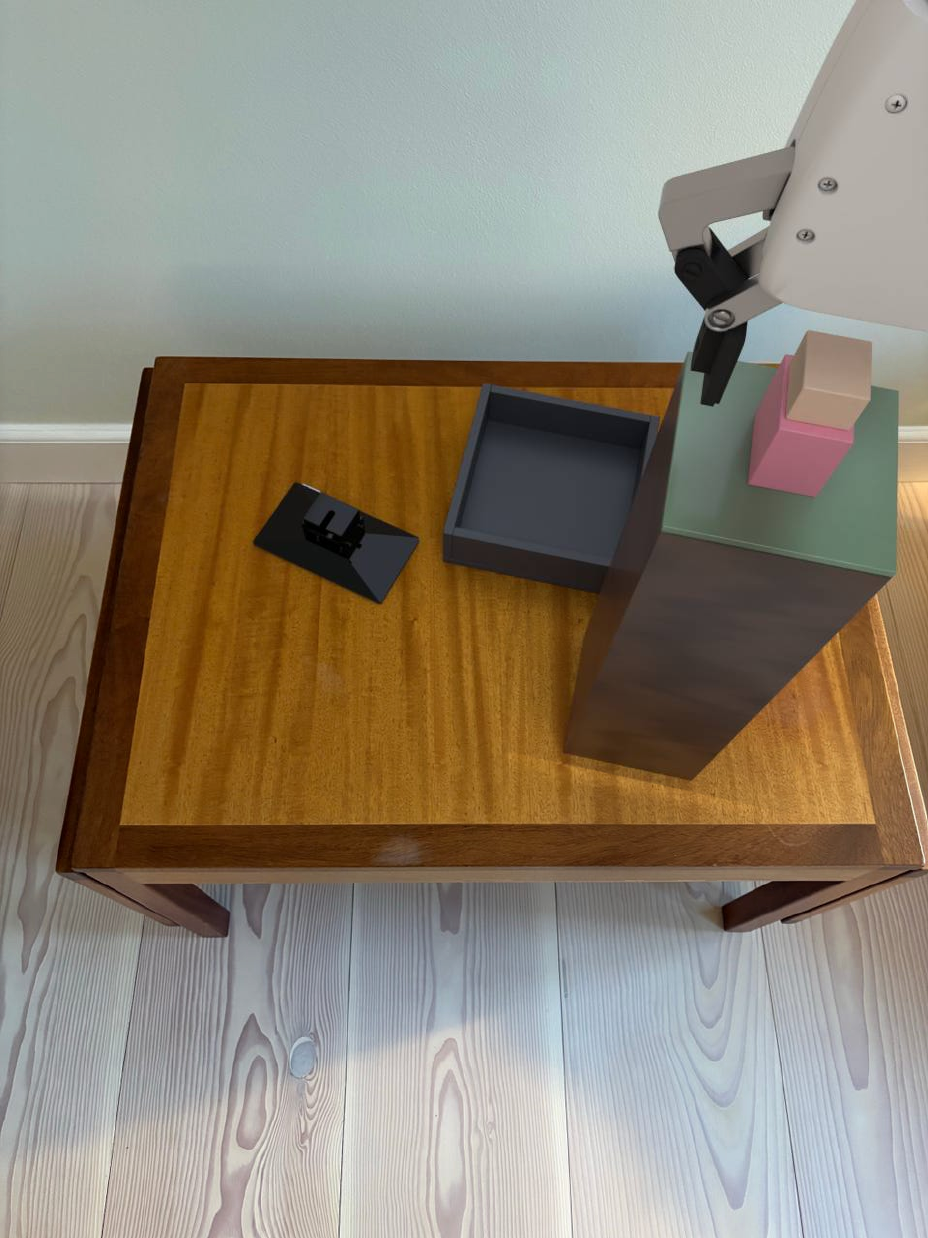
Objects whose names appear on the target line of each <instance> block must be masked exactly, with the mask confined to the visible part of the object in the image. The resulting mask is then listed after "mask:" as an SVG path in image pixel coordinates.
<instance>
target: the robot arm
mask: <svg viewBox="0 0 928 1238" xmlns="http://www.w3.org/2000/svg"><path fill="white" fill-rule="evenodd" d="M798 113H799V114H798V115H797V118H796V121H795V122H794V125H793V127H792V129H791V131H790V133H789V135H788V138H787V140H786V142H785V145H784V147H783V148H780V149H776V150H773V151H768V152H765V153H760V154H757V155H753V156H749V157H746V158H742V159H737V160H734V161H731V162H725V163H722V164H719V165H716V166H711V167H708V168H703V169H701V170H700V169H699V170H696V171H692V172H689V173H685V174H681V175H677V176H674V177H672V178H669V179H668V180H666V181H665V182H664V183H663V186H662V188H661V193H660V201H659V205H658V211H657V214H658V220H659V223H660V227H661V229H662V232H663V235H664V238H665V241H666V244H667V247H668V250H669V252H670V253H671V255H672V258H673V261H674V266H673V267H674V268H673V270H674V274H675V276H676V277H677V279H678V280H679V281H680V282H681V284H682V285H683V286H684V288H685V289H686V290H687V292H689V293H690V295H691V296H692V297H693V298H694V300H695V301H696V302H697V303H698V305H699V306H700V307H701V309H702V310H703V311H704V316H703V319H702V321H701V325H700V328H699V330H698V333H697V336H696V339H695V342H694V346H693V350H692V352H693V355H692V361H691V371H695V372H701V373H704V379H703V386H702V394H701V402H700V404H701V405H707V406H712V407H713V406H714V404H719V403H720V401H721V399H722V396H723V394H724V392H725V389H726V387H727V384H728V382H729V380H730V377H731V375H732V373H733V370H734V368H735V365H736V363H737V361H739V358H740V355H742V352H743V348H744V346H745V343H746V339H747V334H748V333H747V331H748V323H749V321H750V320H752V319H755V318H756V317H758V316H760V315H762V314H764V313H766V312H768V311H770V310H772V309H774V308H776V307H777V306H780V305H781V304H782V305H783V304H784V305H788V306H791V307H794V308H798V309H800V310H804V311H809V312H813V313H814V312H815V313H819V314H824V315H829V316H835V317H839V318H845V319H851V320H855V321H862V322H868V323H873V324H878V325H884V326H891V327H894V328H895V327H896V328H901V329H908V330H913V331H920V332H925V333H928V0H855V1H854V2H853V5H852V6H851V8H850V10H849V12H848V14H847V16H846V17H845V19H844V21H843V23H842V25H841V27H840V29H839V31H838V33H837V35H836V36H835V38H834V40H833V42H832V45H831V46H830V48H829V50H828V51H827V54H826V55H825V58H824V60H823V62H822V64H821V66H820V68H819V70H818V73H817V75H816V77H815V79H814V81H813V83H812V84H811V88H810V89H809V91H808V94H807V96H806V97H805V100H804V102H803V105H802V107H801V110H800V111H799V112H798ZM757 213H762V220H763V221H767V222H770V223H769V225H768V226H766V227H765V228H763V229H762V230H760V231H758V232H756V233H755V234H753V235H751V236H750V237H748V238H746V239H744V240H742V241H741V242H739V243H737V244H736V245H734V246H733V247H730V248H729V249H728V250H727V248H726V247H725V245H724V244H723V243H722V241H721V240H720V239H719V237H718V236H717V234H716V233H715V232H714V230H713V229H712V228H711V227H710V225H712V224H715V223H718V222H723V221H727V220H733V219H736V218H740V217H745V216H749V215H753V214H757Z"/></svg>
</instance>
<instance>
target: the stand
mask: <svg viewBox="0 0 928 1238" xmlns="http://www.w3.org/2000/svg"><path fill="white" fill-rule="evenodd" d="M692 355H693V351H687V353H686V355H685V357H684V360H683V363H682V365H681V368H680V371H679V374H678V376H677V379H676V382H675V385H674V387H673V390H672V393H671V396H670V398H669V402H668V405H667V407H666V410H665V413H664V415H663V418H662V421H661V424H660V425H659V426H660V427H659V428H658V434H657V437H656V440H655V443H654V445H653V448H652V451H651V454H650V456H649V459H648V462H647V465H646V467H645V470H644V473H643V476H642V478H641V481H640V484H639V487H638V489H637V492H636V495H635V498H634V500H633V503H632V506H631V509H630V511H629V514H628V517H627V520H626V522H625V525H624V528H623V531H622V533H621V536H620V539H619V542H618V544H617V547H616V550H615V553H614V555H613V558H612V561H611V564H610V566H609V569H608V572H607V575H606V577H605V580H604V583H603V586H602V588H601V591H600V594H598V596H597V600H596V603H595V604H594V608H593V610H592V613H591V616H590V618H589V622H588V624H587V627H586V629H585V632H584V636H583V638H582V645H581V649H580V655H579V661H578V665H577V672H576V678H575V684H574V690H573V695H572V699H571V705H570V712H569V718H568V723H567V729H566V734H565V740H564V746H563V751H562V752H563V754H567V755H572V756H576V757H581V758H585V759H591V760H594V761H599V762H603V763H608V764H613V765H617V766H622V767H626V768H630V769H637V770H641V771H645V772H650V773H653V774H659V775H663V776H669V777H672V778H677V779H682V780H686V781H691V782H692V781H694V779H695V778H696V777H697V776H698V775H699V774H700V773H702V771H703V770H704V769H705V768H706V767H707V766H708V765H709V764H710V763H711V762H712V761H713V760H714V759H715V758H716V757H717V756H718V755H719V754H720V753H721V752H722V751H723V750H724V749H725V748H727V746H728V745H729V744H730V743H731V742H732V741H733V740H734V739H736V737H737V736H738V735H739V734H740V733H741V732H742V731H743V730H744V729H745V728H746V726H748V725H749V723H751V722H752V720H754V718H755V717H756V716H757V715H758V714H760V713H761V711H762V710H763V709H764V708H765V707H766V706H768V704H770V702H771V701H772V700H773V699H774V698H775V697H776V696H777V695H778V694H779V693H780V692H781V691H782V690H784V688H785V687H786V686H787V685H788V684H789V683H790V682H791V681H792V680H793V679H794V678H795V677H796V676H797V675H798V674H799V673H800V672H801V671H802V670H803V669H804V668H805V667H806V666H807V665H808V664H809V663H810V662H811V661H812V660H813V658H815V657H816V656H817V655H818V654H819V652H820V651H822V649H824V648H825V646H827V644H829V643H830V641H832V639H834V637H836V635H838V633H839V632H840V631H841V630H842V629H843V628H844V627H846V625H847V624H848V623H850V621H852V619H853V618H854V617H855V616H856V615H857V614H858V613H859V612H860V611H861V610H862V609H863V608H864V607H865V606H866V605H867V604H868V603H869V602H870V601H871V600H872V599H873V598H874V597H875V596H876V595H877V594H878V593H879V592H880V591H881V590H882V589H883V588H884V587H885V586H886V584H888V582H889V581H891V579H892V578H894V576H896V574H897V572H898V570H897V569H898V568H897V566H898V562H897V560H898V493H899V492H898V490H899V489H898V488H899V487H898V483H899V471H898V470H899V469H898V468H899V414H900V413H899V408H900V407H899V404H900V403H899V402H900V401H899V400H900V399H899V398H900V390H898V389H891V388H887V387H881V386H876V385H871V400H870V401H869V403H868V404H867V406H866V407H865V409H864V410H863V412H862V413H861V414H860V416H859V417H858V419H857V420H856V422H855V423H854V443H853V444H852V446H851V447H850V449H849V450H848V452H847V453H846V454H845V456H844V457H843V459H842V460H841V462H840V463H839V464H838V466H837V467H836V469H835V470H834V472H833V473H832V474H831V476H830V477H829V479H828V480H827V482H826V483H825V485H824V486H823V487H822V489H821V490H820V492H819V493H818V495H817V496H816V497H810V496H805V495H800V494H795V493H790V492H785V491H780V490H775V489H770V488H764V487H759V486H754V485H749V484H748V479H749V469H750V458H751V448H752V438H753V428H754V418H755V413H756V411H757V409H758V407H759V405H760V403H761V401H762V399H763V397H764V395H765V393H766V391H767V389H768V387H769V385H770V383H771V381H772V379H773V377H774V375H775V373H776V371H777V369H778V367H774V366H768V365H762V364H757V363H753V362H747V361H742V360H738V361H737V363H736V365H735V368H734V370H733V373H732V375H731V377H730V380H729V382H728V384H727V387H726V389H725V392H724V394H723V396H722V399H721V401H720V403H719V404H714V406H713V407H712V406H707V405H701V404H700V402H701V394H702V386H703V379H704V373H701V372H695V371H691V361H692Z"/></svg>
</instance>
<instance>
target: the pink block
mask: <svg viewBox="0 0 928 1238" xmlns="http://www.w3.org/2000/svg"><path fill="white" fill-rule="evenodd" d="M872 360H873V342H872V341H871V340H865V339H860V338H854V337H849V336H843V335H837V334H833V333H832V334H831V333H827V332H822V331H815V330H810V329H808V330H806V332H805V333H804V335H803V338H802V339H801V341H800V343H799V345H798V347H797V349H796V351H795V352H794V355H793V354H787V353H786V354H784V356H783V358H782V360H781V361H780V364H779V365H778V367H777V368H778V369H777V371H776V373H775V375H774V377H773V379H772V381H771V383H770V385H769V387H768V389H767V391H766V393H765V395H764V397H763V399H762V401H761V403H760V405H759V407H758V409H757V411H756V413H755V418H754V428H753V438H752V448H751V458H750V469H749V479H748V484H749V485H754V486H759V487H764V488H770V489H775V490H780V491H785V492H790V493H795V494H800V495H805V496H810V497H816V496H817V495H818V493H819V492H820V490H821V489H822V487H823V486H824V485H825V483H826V482H827V480H828V479H829V477H830V476H831V474H832V473H833V472H834V470H835V469H836V467H837V466H838V464H839V463H840V462H841V460H842V459H843V457H844V456H845V454H846V453H847V452H848V450H849V449H850V447H851V446H852V444H853V443H854V423H855V422H856V420H857V419H858V417H859V416H860V414H861V413H862V412H863V410H864V409H865V407H866V406H867V404H868V403H869V401H870V400H871V386H872V365H873V364H872V363H873V362H872Z"/></svg>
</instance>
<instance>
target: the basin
mask: <svg viewBox="0 0 928 1238" xmlns="http://www.w3.org/2000/svg"><path fill="white" fill-rule="evenodd" d="M660 420H661V416H658V415H652V414H647V413H641V412H637V411H632V410H628V409H622V408H617V407H612V406H605V405H601V404H595V403H591V402H586V401H580V400H575V399H569V398H564V397H559V396H554V395H548V394H544V393H538V392H532V391H528V390H523V389H517V388H512V387H506V386H502V385H497V384H491V383H485V382H483V383H482V385H481V389H480V392H479V396H478V400H477V404H476V406H475V411H474V413H473V418H472V423H471V425H470V430H469V434H468V437H467V440H466V444H465V448H464V452H463V455H462V458H461V459H462V460H461V463H460V467H459V471H458V475H457V478H456V482H455V486H454V490H453V493H452V497H451V500H450V505H449V509H448V512H447V516H446V520H445V523H444V527H443V532H442V562H443V563H448V564H452V565H457V566H461V567H467V568H472V569H475V570H476V569H477V570H482V571H486V572H491V573H495V574H496V573H497V574H501V575H505V576H511V577H515V578H520V579H526V580H530V581H533V582H534V581H535V582H540V583H545V584H550V585H554V586H560V587H564V588H569V589H573V590H579V591H583V592H588V593H593V594H598V595H599V594H600V591H601V588H602V586H603V583H604V580H605V577H606V575H607V572H608V569H609V566H610V564H611V561H612V558H613V555H614V553H615V550H616V547H617V544H618V542H619V539H620V536H621V533H622V531H623V528H624V525H625V522H626V520H627V517H628V514H629V511H630V509H631V506H632V503H633V500H634V498H635V495H636V492H637V489H638V487H639V484H640V481H641V478H642V476H643V473H644V470H645V467H646V465H647V462H648V459H649V456H650V454H651V451H652V448H653V445H654V443H655V440H656V437H657V434H658V432H659V428H660V427H659V426H660Z"/></svg>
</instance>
